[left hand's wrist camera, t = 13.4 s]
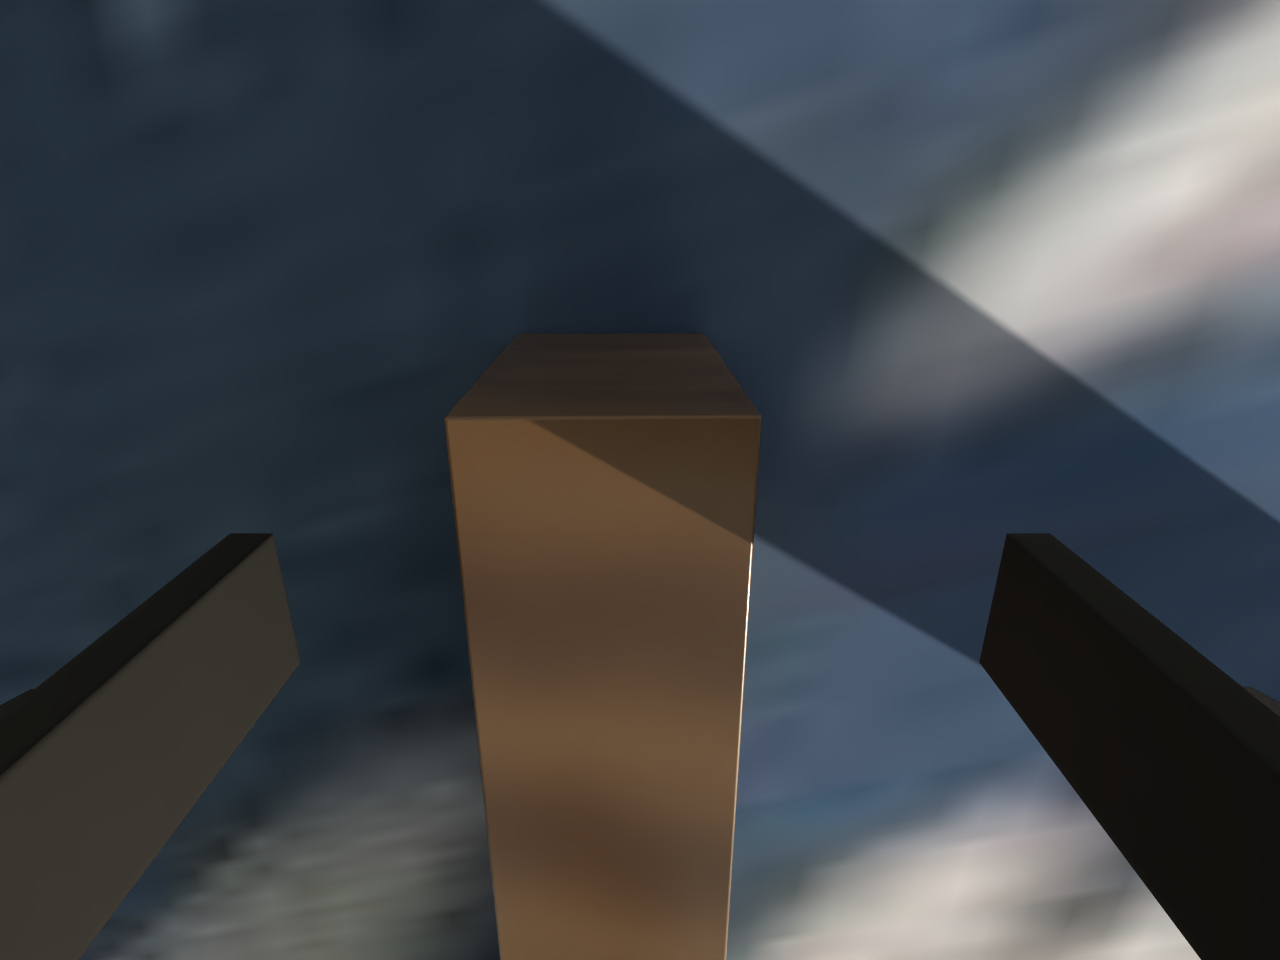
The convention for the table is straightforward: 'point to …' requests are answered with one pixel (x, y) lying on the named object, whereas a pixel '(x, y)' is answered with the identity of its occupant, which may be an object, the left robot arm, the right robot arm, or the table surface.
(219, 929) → the table surface
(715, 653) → the post
